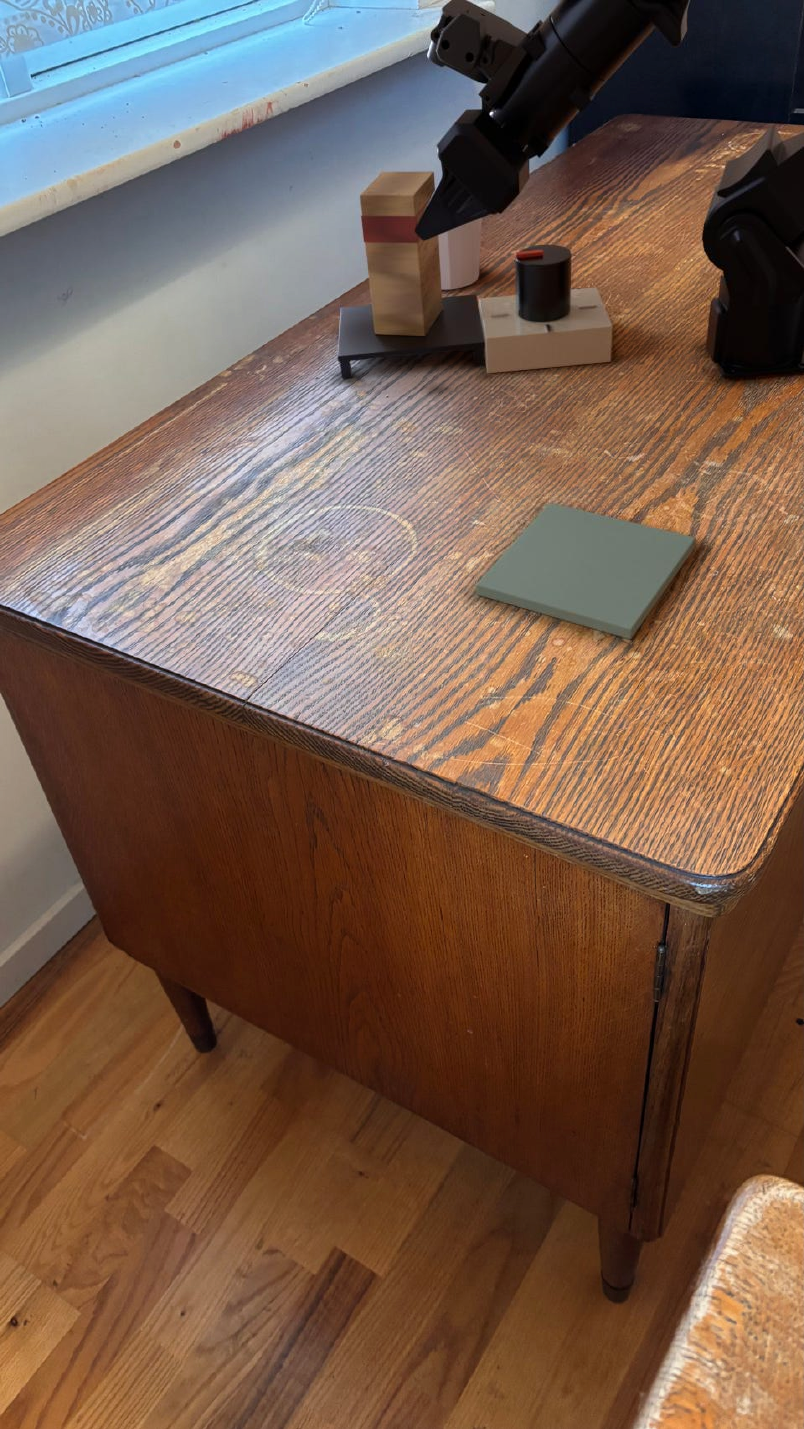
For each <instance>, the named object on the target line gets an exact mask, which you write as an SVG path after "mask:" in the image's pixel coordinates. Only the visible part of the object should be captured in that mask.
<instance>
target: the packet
mask: <svg viewBox="0 0 804 1429" xmlns="http://www.w3.org/2000/svg"><path fill="white" fill-rule="evenodd" d="M435 189H436V183H435V172H434V171H381V172H380V173H379V174H378V175H377V176H376V177H375V178H374V179H373V180H372V181H371V183H370V184H369V185H368V186H367V187H366V188H365V189H364V190H363V191H362V192H361V193H360V194H359V202H360V211H361V216H360V220H361V229H362V238H363V242H364V248H365V257H366V264H367V275H368V284H369V292H370V301H371V305H372V310H373V319H374V328H375V334H381V335H406V336H425V335H426V334H427V332H428V331H429V329H430V328H431V326H432V324H433V323H434V321H435V320H436V318H437V317H438V315H439V314H440V312H441V311H442V309H443V304H442V298H443V293H442V289H441V274H440V258H439V243H438V236H435V237H433V238H430V239H428V240H426V241H423V240H422V239H421V238H420V237H419V236H418V235H417V234H416V233H415V231H414V230H415V227H416V225H417V223H418V222H419V220H420V218H421V216H422V214H423V212H424V210H425V208H426V206H427V205H428V203H429V201H430V199H431V197H432V195H433V193H434V191H435Z"/></svg>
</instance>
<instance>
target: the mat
mask: <svg viewBox="0 0 804 1429" xmlns="http://www.w3.org/2000/svg"><path fill="white" fill-rule="evenodd" d="M696 541H697V538H696V537H695V536H692V535H688V534H683V533H679V532H674V531H671V530H666V529H663V528H657V527H654V526H650V525H649V526H648V525H645V524H641V523H638V522H633V521H629V520H624V519H621V518H616V517H612V516H609V515H604V514H599V513H596V512H591V511H587V510H583V509H579V508H574V507H571V506H567V505H562V504H558V503H553V502H549V503H548V504H547V505H546V506H545V507H544V508H543V509H542V510H541V512H540V513H539V514H537V516H536V517H535V518H534V519H533V521H531V523H530V524H529V525H528V526H527V527H526V528H525V529H524V530H523V532H522V533H521V534H519V536H518V537H517V538H516V539H515V541H514V542H513V543H512V544H510V546H509V547H508V549H506V551H505V552H504V553H503V554H502V555H501V556H500V557H499V558H498V559H497V561H496V562H495V563H494V564H493V565H492V566H491V567H490V569H489V570H488V571H487V572H486V573H484V575H483V577H481V578H480V579H479V581H478V582H477V583H476V584H475V586H476V588H475V590H476V595H477V596H481V597H484V598H486V599H491V600H494V601H498V602H501V603H505V604H507V605H512V606H513V607H518V608H522V609H525V610H529V611H532V612H535V613H538V614H541V615H546V616H549V617H551V618H555V619H559V620H562V621H566V622H568V623H572V624H576V625H578V626H579V625H580V626H582V627H585V628H586V627H587V628H589V629H594V630H597V631H599V632H603V633H607V634H610V635H613V636H618V637H619V638H620V637H621V638H623V639H627V640H632V639H633V637H634V635H635V634H636V633H637V632H638V630H639V629H640V627H641V626H642V624H643V623H644V621H645V620H646V618H647V617H648V615H649V614H650V613H651V611H652V610H653V609H654V607H655V605H656V604H657V603H658V601H659V600H660V598H661V597H662V595H663V594H664V593H665V591H666V590H667V588H668V587H669V585H670V584H671V582H672V581H673V579H674V578H675V577H676V575H677V574H678V573H679V571H680V569H681V568H682V567H683V565H684V564H685V562H686V561H687V560H688V558H689V557H690V555H691V554H692V552H693V551H694V549H695V548H696V543H697V542H696Z"/></svg>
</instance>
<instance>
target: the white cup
mask: <svg viewBox="0 0 804 1429" xmlns="http://www.w3.org/2000/svg"><path fill="white" fill-rule="evenodd" d="M482 220H483V217H482V218H480V219H477V220H474V221H472V222H469V223H467V224H464V225H462V226H459V227H457V228H454V229H452V230H449V231H447V232H445V233H442V234H440V235H438V243H439V258H440V274H441V289H442V290H456V289H460V288H461V289H462V288H465V287H468V286H470V285H473V284H474V283H475V282H476V281H478V280H479V276H480V261H481V242H482V241H481V240H482Z"/></svg>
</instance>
